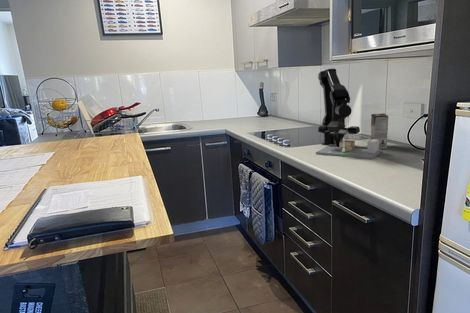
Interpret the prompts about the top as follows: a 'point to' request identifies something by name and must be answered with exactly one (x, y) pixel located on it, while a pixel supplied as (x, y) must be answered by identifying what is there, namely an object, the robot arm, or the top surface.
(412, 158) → the top surface
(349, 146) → the carriage
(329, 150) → the gauge base
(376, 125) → the coffee box
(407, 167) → the top surface
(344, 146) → the needle
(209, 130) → the top surface
